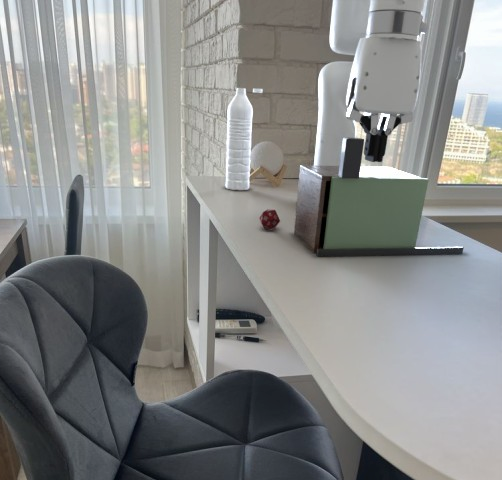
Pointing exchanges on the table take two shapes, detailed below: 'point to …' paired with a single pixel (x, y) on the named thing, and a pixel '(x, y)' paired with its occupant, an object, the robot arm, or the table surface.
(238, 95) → the water bottle
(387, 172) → the cabinet
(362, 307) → the table surface
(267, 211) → the dice
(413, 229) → the sliding door
